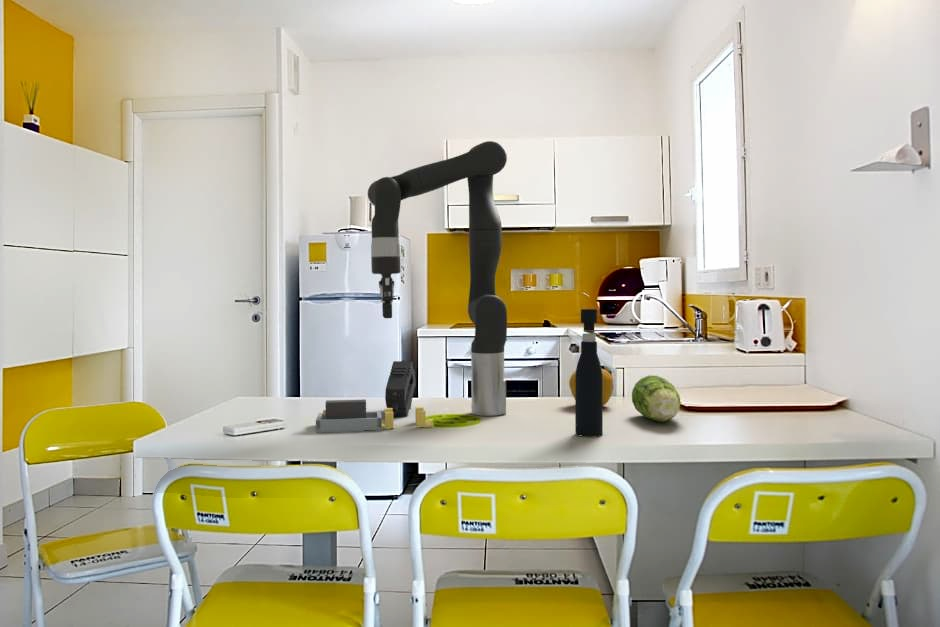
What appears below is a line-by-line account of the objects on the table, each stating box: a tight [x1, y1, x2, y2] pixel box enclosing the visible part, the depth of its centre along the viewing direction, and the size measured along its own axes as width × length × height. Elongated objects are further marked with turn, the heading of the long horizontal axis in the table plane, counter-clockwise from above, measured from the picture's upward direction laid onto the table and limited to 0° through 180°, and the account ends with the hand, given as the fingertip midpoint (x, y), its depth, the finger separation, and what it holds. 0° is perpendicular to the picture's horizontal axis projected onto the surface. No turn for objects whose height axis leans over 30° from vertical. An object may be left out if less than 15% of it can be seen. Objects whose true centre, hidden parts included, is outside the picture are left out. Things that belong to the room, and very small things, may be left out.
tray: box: [315, 410, 383, 433], centre depth 178 cm, size 16×10×3 cm, turn 98°
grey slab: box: [322, 398, 367, 419], centre depth 178 cm, size 11×4×6 cm, turn 98°
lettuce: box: [631, 375, 682, 422], centre depth 184 cm, size 12×21×11 cm, turn 178°
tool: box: [384, 359, 417, 417], centre depth 198 cm, size 6×19×15 cm
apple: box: [568, 368, 614, 406], centre depth 208 cm, size 13×13×11 cm
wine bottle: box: [574, 308, 604, 437], centre depth 168 cm, size 6×6×30 cm
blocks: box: [382, 406, 435, 430], centre depth 180 cm, size 14×7×4 cm, turn 98°
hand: (387, 317), depth 184 cm, fingers open, 8 cm apart
